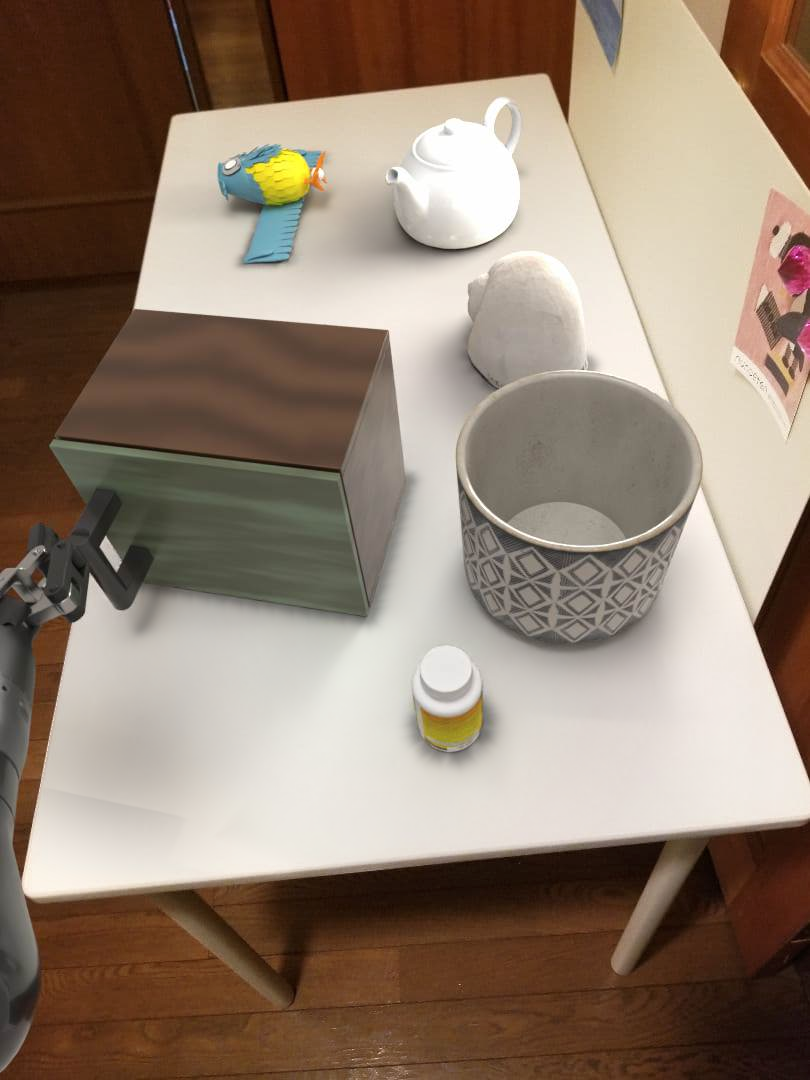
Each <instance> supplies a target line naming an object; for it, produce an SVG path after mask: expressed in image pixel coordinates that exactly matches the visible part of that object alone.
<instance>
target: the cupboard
mask: <svg viewBox="0 0 810 1080" xmlns="http://www.w3.org/2000/svg"><path fill="white" fill-rule="evenodd" d="M390 338H391V337H390V331H389V329H382V328H372V327H371V328H367V327H357V326H346V325H335V324H334V325H333V324H321V323H310V322H309V323H308V322H299V321H288V320H287V321H286V320H275V319H261V318H252V317H251V318H249V317H239V316H238V317H237V316H228V315H226V316H225V315H216V314H215V315H214V314H204V313H203V314H202V313H192V312H191V313H190V312H180V311H179V312H177V311H167V310H166V311H165V310H155V309H143V308H142V309H141V308H134V309H133V310H132V312H131V313H130V315H129V316H128V318H127V320H126V321H125V323H124V324H123V326H122V327H121V329H120V331H119V333H118V334H117V336H116V337H115V339H114V340H113V342H112V344H111V345H110V347H109V348H108V349H107V351H106V353H105V355H104V356H103V357H102V358H101V361H100V362H99V364H98V366H97V367H96V369H95V370H94V372H93V374H92V375H91V377H90V378H89V380H88V381H87V383H86V384H85V386H84V387H83V389H82V391H81V392H80V394H79V396H77V399H76V400H75V402H74V403H73V405H72V407H71V408H70V410H69V412H68V413H67V414H66V416H65V417H64V419H63V421H62V423H61V424H60V425H59V427H58V429H57V431H56V432H55V433H54V437H55V439H56V440H64V441H73V442H81V443H90V444H98V445H106V446H115V447H123V448H132V449H140V450H148V451H157V452H165V453H174V454H182V455H190V456H199V457H207V458H216V459H224V460H232V461H241V462H249V463H258V464H266V465H274V466H283V467H291V468H299V469H308V470H316V471H325V472H333V473H340V477H341V482H342V486H343V491H344V496H345V500H346V505H347V510H348V514H349V519H350V524H351V528H352V533H353V537H354V542H355V547H356V551H357V556H358V561H359V565H360V570H361V574H362V579H363V584H364V588H365V593H366V598H367V602H368V607H369V609H370V608H371V606H372V602H373V600H374V595H375V592H376V588H377V585H378V582H379V577H380V575H381V571H382V568H383V564H384V561H385V557H386V553H387V550H388V546H389V543H390V539H391V535H392V532H393V529H394V525H395V522H396V518H397V515H398V511H399V507H400V504H401V500H402V497H403V492H404V490H405V486H406V482H407V477H406V469H405V461H404V460H405V459H404V450H403V443H402V434H401V425H400V417H399V416H400V415H399V408H398V397H397V390H396V383H395V382H396V381H395V374H394V372H395V371H394V364H393V356H392V355H393V354H392V348H391V347H392V346H391V339H390Z"/></svg>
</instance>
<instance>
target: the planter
mask: <svg viewBox="0 0 810 1080" xmlns="http://www.w3.org/2000/svg"><path fill="white" fill-rule="evenodd" d="M703 461H704V460H703V453H702V449H701V446H700V443H699V440H698V437H697V435H696V434H695V432H694V430H693V428H692V427H691V425H690V423H689V422H688V420H687V419H686V418H685V417H684V415H683V414H682V413H681V412H680V411H679V410H678V409H677V408H676V407H675V406H674V405H673V404H672V403H670V402H669V401H668V400H667V399H666V398H664V397H662V396H661V395H660V394H658V393H657V392H655V391H653V390H652V389H650V388H648V387H647V386H644V385H642V384H641V383H638V382H635V381H633V380H631V379H628V378H624V377H622V376H618V375H613V374H610V373H606V372H601V371H592V370H587V371H582V370H563V371H552V372H545V373H540V374H535V375H531V376H528V377H525V378H522V379H519V380H516V381H514V382H512V383H509V384H507V385H505V386H503V387H501V388H500V389H499V388H497V389H496V390H495V391H493V392H492V393H490V394H489V395H488V396H487V397H485V398H484V399H483V400H481V402H479V403H478V405H476V406H475V408H473V410H472V411H471V412H470V414H469V415H468V416H467V418H466V420H465V421H464V423H463V425H462V427H461V429H460V432H459V434H458V437H457V442H456V446H455V468H456V479H457V480H456V481H457V493H458V505H459V507H458V508H459V517H460V518H459V519H460V531H461V542H462V556H463V565H464V571H465V576H466V579H467V581H468V584H469V586H470V589H471V590H472V592H473V594H474V595H475V598H477V600H478V602H480V604H481V605H482V607H483V608H484V609H485V610H486V611H487V612H488V613H489V614H490V615H491V616H492V617H494V618H495V619H496V620H497V621H498V622H500V623H501V624H503V625H504V626H506V627H508V628H509V629H510V630H511V629H512V630H513V631H515V632H517V633H519V634H522V635H524V636H527V637H530V638H532V639H536V640H539V641H543V642H548V643H556V644H584V643H591V642H597V641H600V640H603V639H606V638H607V639H608V638H609V637H612V636H614V635H617V634H618V633H621V632H622V631H625V630H626V629H628V628H630V627H631V626H632V625H634V624H635V623H637V622H638V621H639V620H640V619H641V618H642V617H643V616H644V615H645V614H646V613H647V612H648V611H649V609H651V607H652V605H653V604H654V602H655V601H656V600H657V597H658V595H659V593H660V591H661V588H662V586H663V583H664V580H665V578H666V575H667V573H668V571H669V567H670V564H671V563H672V559H673V557H674V555H675V552H676V549H677V547H678V544H679V541H680V539H681V537H682V534H683V532H684V528H685V526H686V523H687V522H688V521H687V520H688V518H689V515H690V513H691V510H692V508H693V505H694V503H695V500H696V498H697V495H698V492H699V489H700V487H701V483H702V479H703V472H704V471H703V469H704V463H703Z"/></svg>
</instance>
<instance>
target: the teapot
mask: <svg viewBox="0 0 810 1080" xmlns="http://www.w3.org/2000/svg"><path fill="white" fill-rule="evenodd" d="M505 106H506V107H507V109H509V111H510V114H511V129H510V133H509V136H508V139H507V140H506V143H505V145H504V144H503V143H502V142H501V141H500V140H499V139H498V138H497V136H496V134H495V131H494V127H495V126H494V125H495V120H496V118H497V115H498V114H499V112H500V111H501V110H502V109H503V107H505ZM482 122H483V124H479V123H476V122H472V121H462V120H461V119H459V118H449V119H448V120H446V121H445V122H444V123H442V124H438V125H436V126H433V127H430V128H429V129H427V130H424V131H423V132H422V133H420V134H419V135H418V136H417V137H416V138H415V140H414V141H413V143H412V145H411V147H409V149H408V151H407V152H406V153H405V155H404V157H402V159H401V162H400V164H399V166H394V167H391V168H389V169H388V170H387V171H386V172H385V175H384V180H385V183H386V184H387V186H393V206H394V210H395V214H396V217H397V220H398V223H399V224H400V226H401V227H402V229H403V230H404V231H405V232H406V234H408V235H409V236H410V237H411V238H412V239H414V240H415V241H416V242H419V243H421V244H422V245H425V246H429V247H434V248H437V249H447V250H457V249H458V250H459V249H469V248H473V247H477V246H480V245H483V244H486V243H488V242H490V241H492V240H494V239H495V238H497V237H499V236H500V235H501V234H502V233H504V232H505V231H506V230H507V229H508V227H509V226H510V225H511V224H512V222H513V221H514V219H515V217H516V215H517V211H518V208H519V202H520V179H519V173H518V169H517V166H516V164H515V162H514V160H513V157H512V156H513V155H514V152H515V150H516V148H517V146H518V143H519V141H520V139H521V135H522V131H523V116H522V112H521V109H520V107H519V105H518V104H517V103H516V101H515V100H513V99H512V98H510V97H507V96H499V97H497V98H496V99H493V101H492V102H491V103H490V105H489V106H488V107H487V109H486V112H485V114H484V118H483V121H482Z"/></svg>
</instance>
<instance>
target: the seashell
mask: <svg viewBox="0 0 810 1080" xmlns="http://www.w3.org/2000/svg"><path fill="white" fill-rule="evenodd" d="M467 296H468V300H467V312H468V313H467V314H468V316H469V318H470V320H471V321H472V323H473V325H472V328H471V331H470V333H469V337H468V341H467V354H468V357H469V358H470V361H471V363H472V365H473V366H474V367H475V368H476V369H477V370H478V371H479V372H480V374H482V376H483V377H484V378H485V379H486V380H487V381H488V382H489V383H490V384H491V385H492V386H493V387H495V388H497V389H500V388H501V387H503V386H505V385H507V384H509V383H512V382H514V381H516V380H519V379H522V378H525V377H528V376H531V375H535V374H540V373H545V372H552V371H563V370H582V371H588V368H589V362H588V357H587V349H586V348H587V347H586V335H585V332H586V331H585V330H586V329H585V320H584V319H585V318H584V312H583V311H584V310H583V305H582V300H581V297H580V293H579V289H578V287H577V285H576V283H575V281H574V279H573V277H572V275H571V274H570V272H569V271H568V269H567V268H566V267H565V265H564V264H563V263H561V262H560V261H559V260H558V259H556V258H555V257H553V256H551V255H548V254H546V253H542V252H539V251H535V250H526V251H525V250H523V251H522V250H521V251H516V252H513V253H509V254H507V255H504V256H502V257H501V258H499V259H498V260H497V261H495V262H494V263H493V264H492V266H491V267H490V269H488V270H487V272H486V273H481V274H480V275H477V276H476V277H475V278H474V279H473V280H471V281H470V282H469V283H468V284H467Z"/></svg>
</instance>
